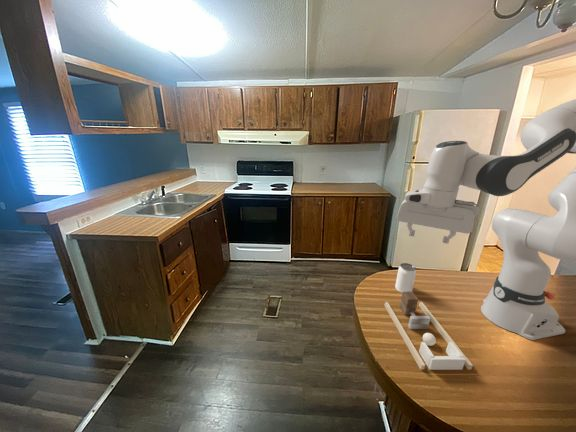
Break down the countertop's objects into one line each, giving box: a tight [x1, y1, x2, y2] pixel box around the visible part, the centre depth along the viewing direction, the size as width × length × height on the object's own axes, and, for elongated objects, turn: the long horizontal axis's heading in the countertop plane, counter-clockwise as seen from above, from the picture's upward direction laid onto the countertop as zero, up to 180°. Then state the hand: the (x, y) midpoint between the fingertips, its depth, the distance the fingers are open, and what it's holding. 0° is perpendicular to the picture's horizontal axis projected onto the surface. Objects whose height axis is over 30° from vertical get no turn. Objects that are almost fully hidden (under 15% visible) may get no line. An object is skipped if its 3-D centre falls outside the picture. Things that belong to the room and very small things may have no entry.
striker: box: [399, 291, 431, 330], centre depth 80 cm, size 6×10×7 cm, turn 0°
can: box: [394, 262, 417, 294], centre depth 94 cm, size 6×6×12 cm
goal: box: [418, 341, 466, 371], centre depth 65 cm, size 9×6×4 cm, turn 90°
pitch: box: [384, 301, 474, 371], centre depth 75 cm, size 14×25×3 cm, turn 0°
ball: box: [422, 332, 437, 346], centre depth 70 cm, size 4×4×4 cm
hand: (427, 239), depth 74 cm, fingers open, 8 cm apart
